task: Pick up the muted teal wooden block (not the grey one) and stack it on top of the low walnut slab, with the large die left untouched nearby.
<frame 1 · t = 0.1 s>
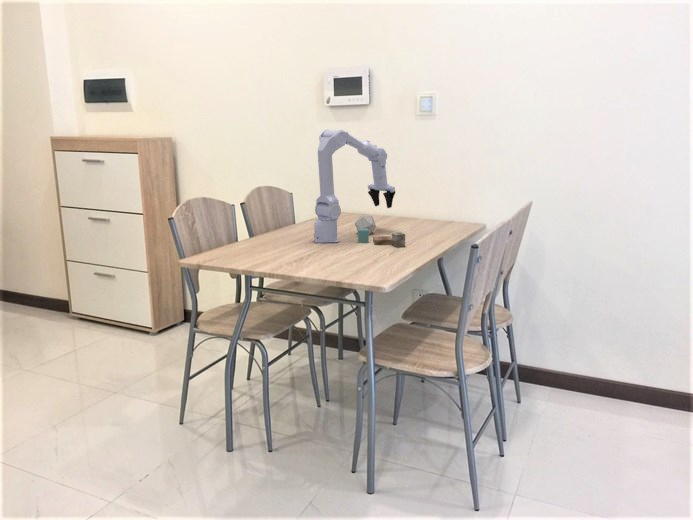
hand: (383, 206, 254), 11 cm above the table, tool pointing down, fingers open, 7 cm apart
walnut slab: (382, 244, 231), on the table
teal block: (363, 241, 234), on the table
die: (365, 234, 250), on the table
grey block: (398, 246, 225), on the table
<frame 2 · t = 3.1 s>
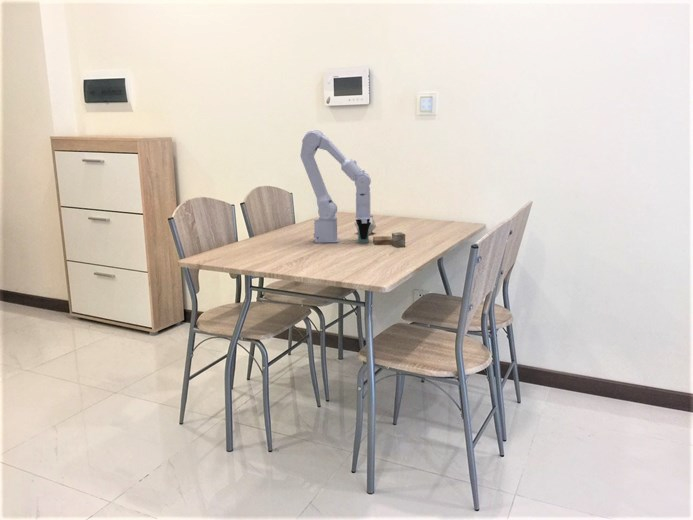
hand: (363, 238, 234), 1 cm above the table, tool pointing down, fingers closed on teal block, 4 cm apart
teal block: (363, 241, 234), on the table, touching gripper
everything else where it was.
when the fingers open (5 cm above the table, at t = 6.2 s): teal block drops 2 cm, point 2 cm above the table.
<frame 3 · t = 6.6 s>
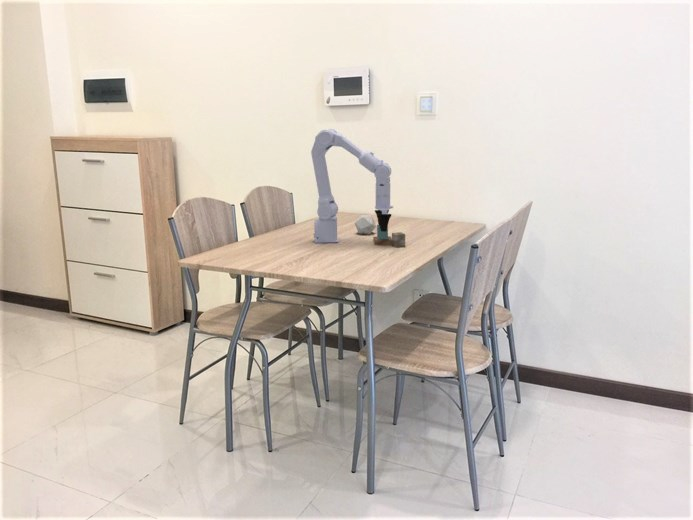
hand: (382, 229, 230), 5 cm above the table, tool pointing down, fingers open, 7 cm apart
teal block: (382, 238, 231), point 2 cm above the table
everything else where it was.
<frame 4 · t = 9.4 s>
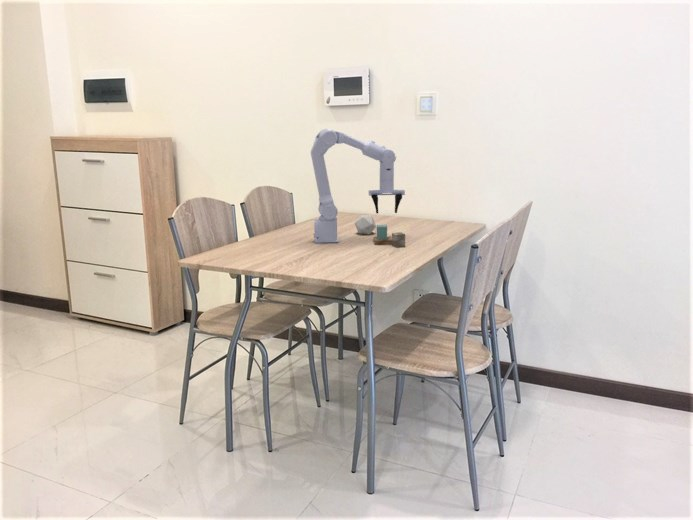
hand: (386, 212, 238), 10 cm above the table, tool pointing down, fingers open, 7 cm apart
walnut slab: (382, 244, 231), on the table, touching teal block
teal block: (381, 238, 231), point 2 cm above the table, touching walnut slab
everything else where it was.
at the end: teal block 0.4 cm off-centre on the walnut slab, point 2.4 cm above the walnut slab's base; teal block tilted 0°; the gripper is holding nothing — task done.
